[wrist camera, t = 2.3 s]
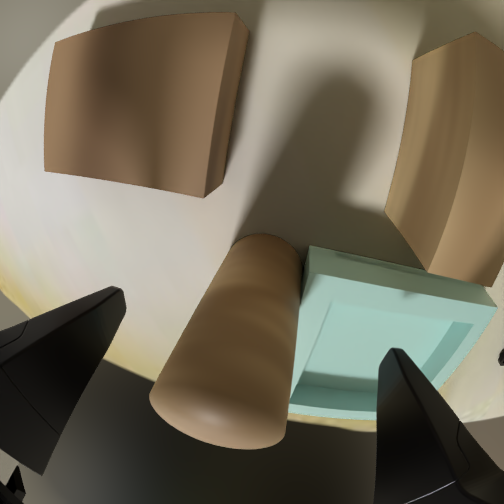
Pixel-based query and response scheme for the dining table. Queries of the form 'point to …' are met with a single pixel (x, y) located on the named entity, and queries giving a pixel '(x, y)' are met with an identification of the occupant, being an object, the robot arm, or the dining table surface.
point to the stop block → (454, 162)
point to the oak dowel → (237, 350)
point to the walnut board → (146, 101)
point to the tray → (376, 329)
